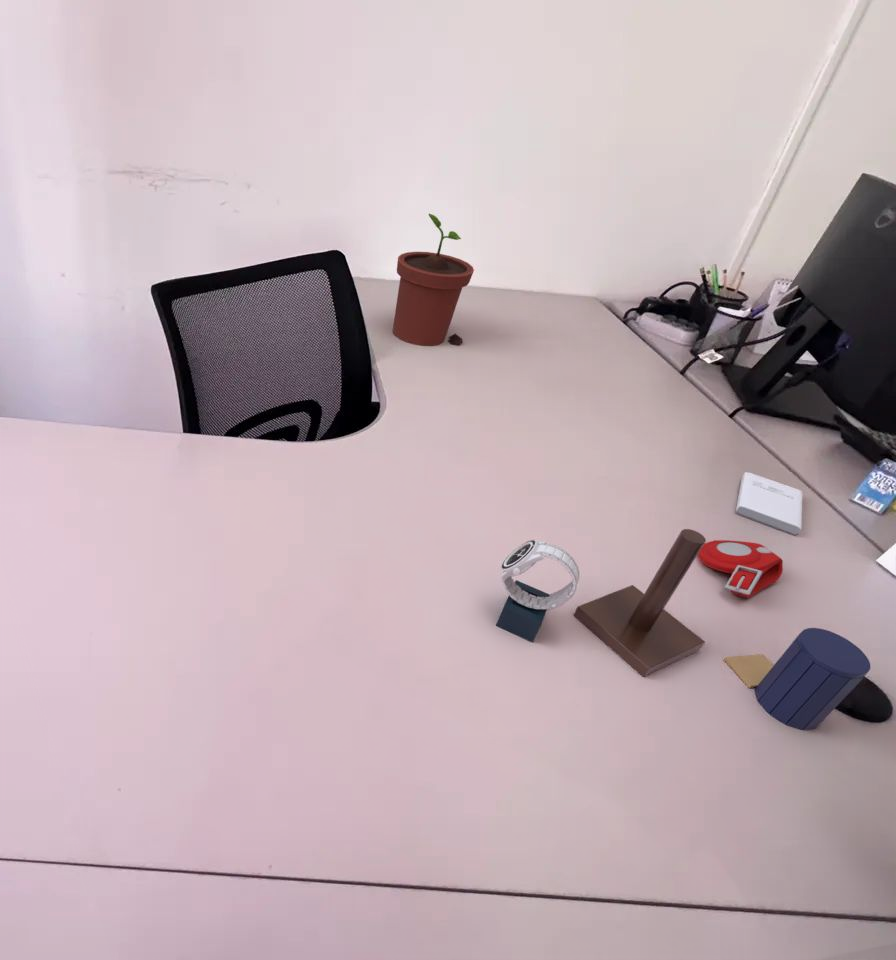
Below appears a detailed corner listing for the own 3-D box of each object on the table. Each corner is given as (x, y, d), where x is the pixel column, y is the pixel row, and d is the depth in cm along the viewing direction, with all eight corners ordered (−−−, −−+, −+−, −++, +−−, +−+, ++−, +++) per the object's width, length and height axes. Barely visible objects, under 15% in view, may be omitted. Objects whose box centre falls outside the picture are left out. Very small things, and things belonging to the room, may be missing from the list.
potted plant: (363, 325, 151) (385, 209, 137) (427, 310, 163) (453, 201, 148) (422, 356, 140) (453, 233, 126) (486, 337, 152) (521, 223, 137)
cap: (832, 726, 71) (886, 671, 66) (785, 732, 70) (835, 676, 65) (763, 655, 79) (806, 601, 74) (720, 659, 78) (760, 604, 72)
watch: (492, 591, 84) (520, 522, 77) (558, 620, 81) (592, 551, 74) (479, 618, 80) (507, 548, 73) (548, 650, 76) (583, 579, 70)
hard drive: (734, 513, 103) (740, 478, 111) (796, 536, 99) (798, 498, 108) (739, 505, 102) (745, 470, 110) (802, 528, 98) (804, 490, 107)
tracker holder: (683, 537, 95) (758, 528, 94) (681, 564, 96) (754, 556, 95) (737, 581, 83) (823, 572, 82) (733, 611, 85) (818, 603, 84)
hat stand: (627, 593, 86) (681, 499, 77) (699, 650, 79) (767, 554, 70) (573, 614, 82) (622, 518, 73) (643, 677, 74) (707, 578, 66)
